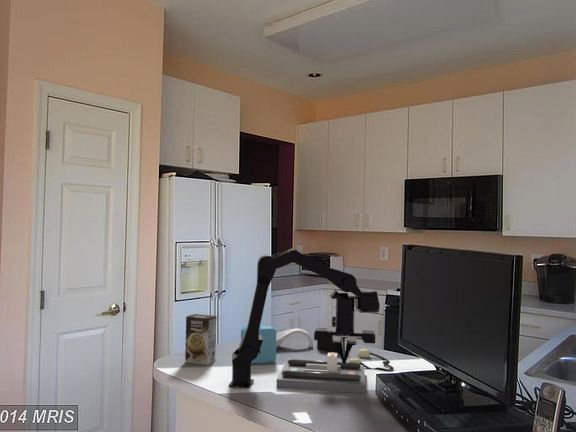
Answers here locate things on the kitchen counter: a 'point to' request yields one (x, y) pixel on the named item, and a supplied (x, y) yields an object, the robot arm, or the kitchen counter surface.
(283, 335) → the spoon rest
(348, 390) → the panel
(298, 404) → the kitchen counter surface
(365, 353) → the cable
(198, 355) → the coffee box
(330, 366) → the knob
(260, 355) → the data package
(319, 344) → the digital camera
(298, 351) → the kitchen counter surface
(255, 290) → the robot arm
